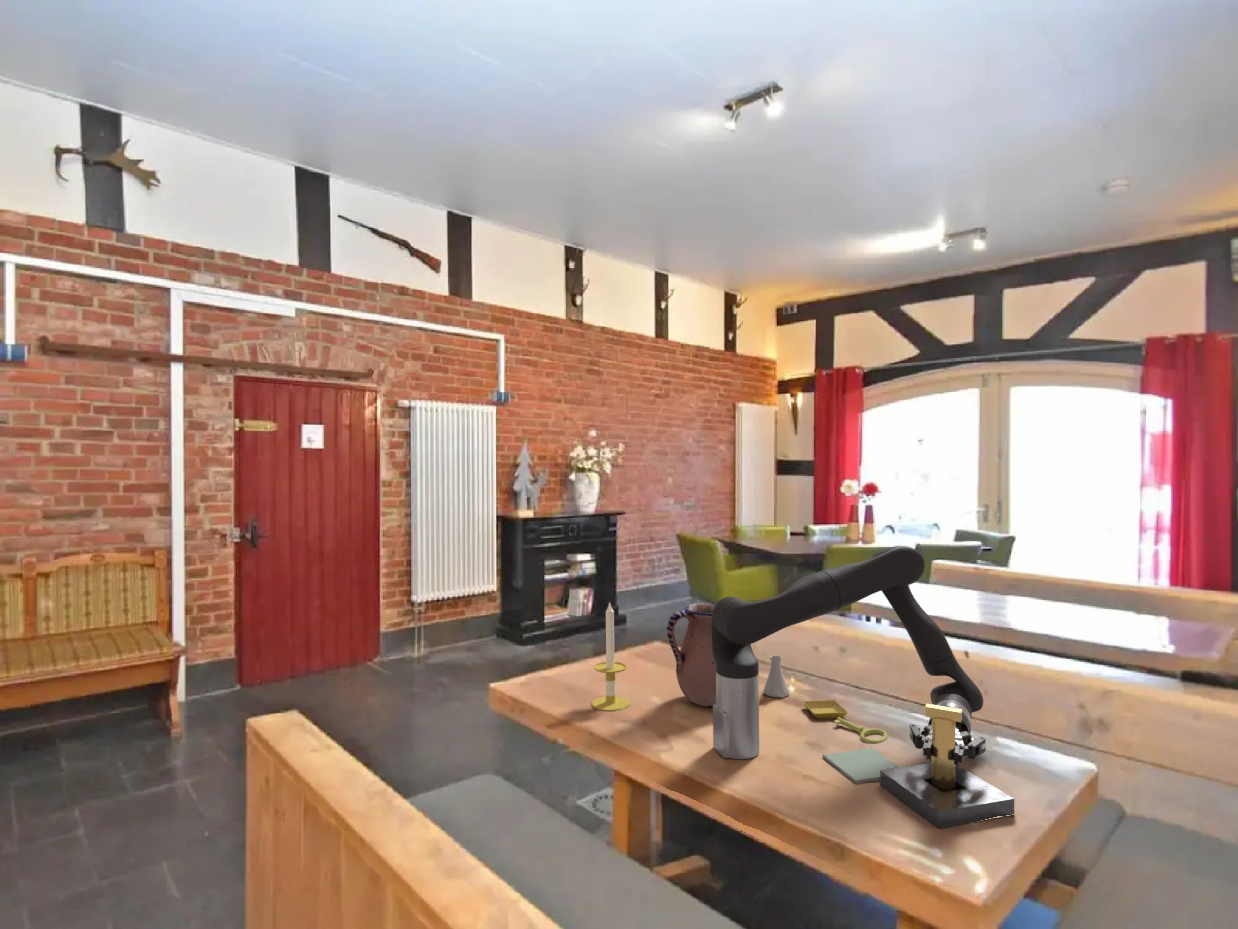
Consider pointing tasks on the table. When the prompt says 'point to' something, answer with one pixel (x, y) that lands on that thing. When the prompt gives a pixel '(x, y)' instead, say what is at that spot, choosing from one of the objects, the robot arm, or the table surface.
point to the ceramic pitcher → (695, 654)
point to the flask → (776, 680)
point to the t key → (943, 745)
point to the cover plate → (946, 796)
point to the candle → (610, 670)
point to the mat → (860, 764)
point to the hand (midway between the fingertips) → (942, 756)
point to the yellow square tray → (825, 709)
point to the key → (863, 731)
